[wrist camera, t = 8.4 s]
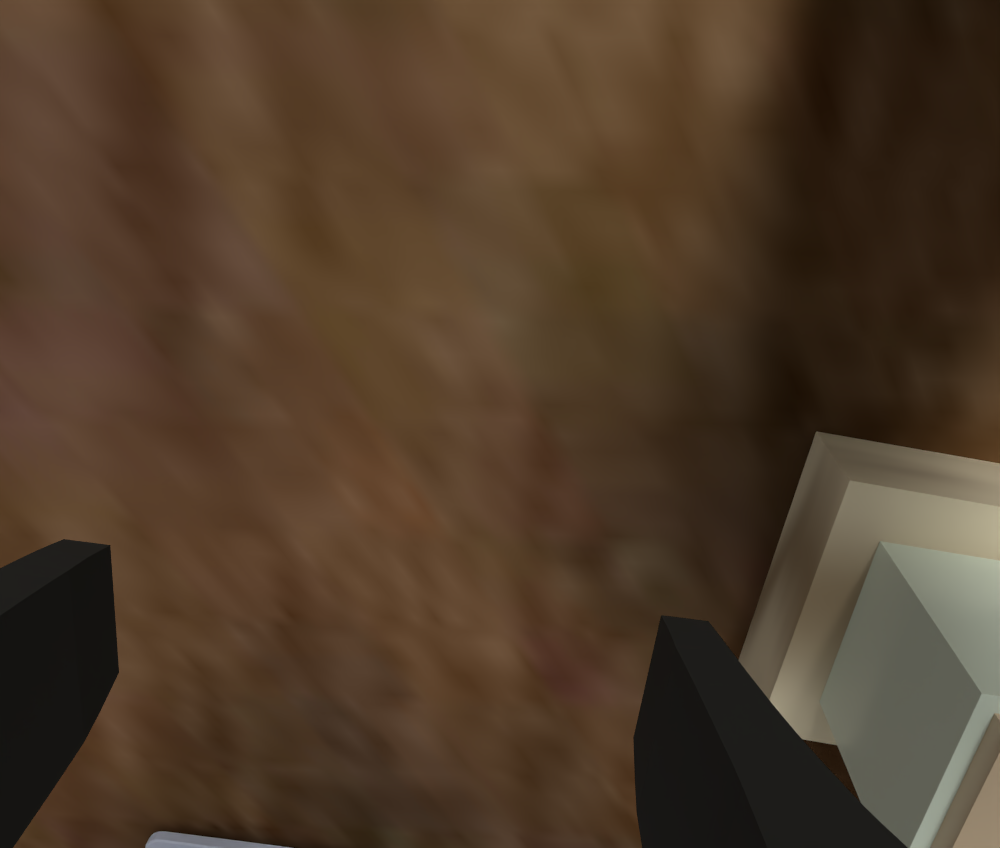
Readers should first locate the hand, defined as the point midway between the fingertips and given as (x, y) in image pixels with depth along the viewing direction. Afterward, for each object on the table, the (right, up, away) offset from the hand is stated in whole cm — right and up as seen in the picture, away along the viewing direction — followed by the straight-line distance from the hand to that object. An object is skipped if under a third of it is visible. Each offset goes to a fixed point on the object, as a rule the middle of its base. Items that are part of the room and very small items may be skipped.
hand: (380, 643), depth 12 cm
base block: (+12, -1, +12) cm, 17 cm away
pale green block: (+12, -2, +9) cm, 15 cm away
